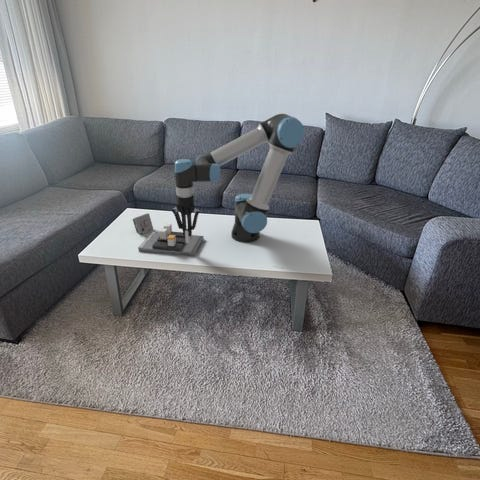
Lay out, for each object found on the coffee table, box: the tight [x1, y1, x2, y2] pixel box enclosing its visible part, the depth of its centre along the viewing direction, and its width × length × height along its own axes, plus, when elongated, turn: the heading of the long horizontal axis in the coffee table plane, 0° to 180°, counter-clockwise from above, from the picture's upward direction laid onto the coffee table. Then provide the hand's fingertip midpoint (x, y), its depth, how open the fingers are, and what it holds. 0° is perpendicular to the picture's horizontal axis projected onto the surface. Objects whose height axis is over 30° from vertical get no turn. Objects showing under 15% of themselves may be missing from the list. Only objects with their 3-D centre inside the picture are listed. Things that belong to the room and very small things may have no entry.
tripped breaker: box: [167, 235, 176, 246], centre depth 159 cm, size 3×3×4 cm
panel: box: [137, 231, 205, 258], centre depth 166 cm, size 28×18×4 cm, turn 81°
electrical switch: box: [132, 213, 154, 235], centre depth 179 cm, size 9×5×9 cm, turn 141°
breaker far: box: [163, 223, 173, 234], centre depth 170 cm, size 3×3×4 cm
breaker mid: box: [158, 227, 168, 240], centre depth 165 cm, size 3×3×4 cm
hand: (187, 241), depth 158 cm, fingers closed
